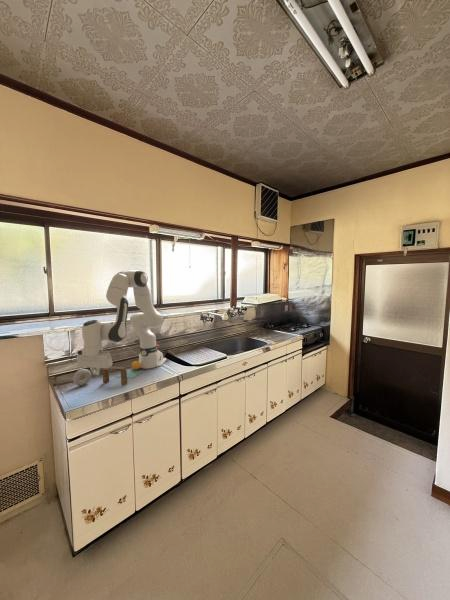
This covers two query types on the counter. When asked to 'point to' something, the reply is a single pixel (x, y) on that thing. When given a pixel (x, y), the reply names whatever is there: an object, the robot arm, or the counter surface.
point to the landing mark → (132, 373)
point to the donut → (79, 373)
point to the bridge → (121, 369)
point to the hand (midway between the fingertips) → (96, 374)
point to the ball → (136, 365)
